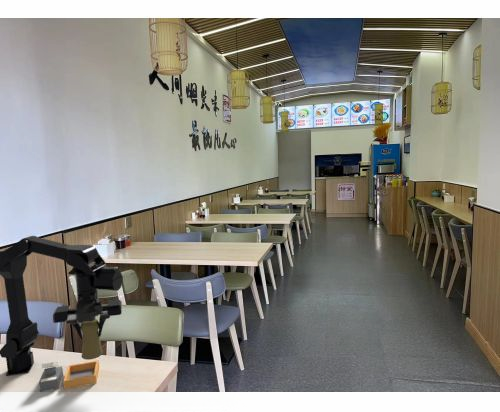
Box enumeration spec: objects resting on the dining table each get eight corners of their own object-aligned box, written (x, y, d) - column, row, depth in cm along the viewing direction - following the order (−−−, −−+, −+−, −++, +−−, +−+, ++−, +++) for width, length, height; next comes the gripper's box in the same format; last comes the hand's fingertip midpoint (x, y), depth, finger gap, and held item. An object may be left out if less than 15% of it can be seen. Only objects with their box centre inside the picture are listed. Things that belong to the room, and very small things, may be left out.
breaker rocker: (41, 367, 111) (41, 363, 111) (47, 367, 116) (47, 363, 116) (53, 365, 112) (53, 362, 112) (57, 365, 117) (57, 362, 117)
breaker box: (39, 392, 110) (37, 376, 110) (45, 378, 117) (43, 363, 116) (58, 388, 112) (57, 373, 111) (63, 375, 119) (61, 360, 118)
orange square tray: (64, 389, 111) (63, 381, 111) (69, 372, 120) (68, 365, 119) (96, 383, 114) (95, 375, 114) (99, 367, 122) (98, 360, 122)
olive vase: (95, 360, 114) (92, 325, 112) (77, 358, 115) (74, 324, 113) (106, 350, 119) (104, 316, 118) (89, 348, 121) (86, 315, 119)
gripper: (46, 302, 104) (51, 355, 106) (119, 294, 109) (122, 345, 111) (54, 288, 114) (59, 337, 116) (120, 281, 120) (123, 328, 122)
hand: (90, 337), depth 116 cm, fingers closed on olive vase, 5 cm apart
